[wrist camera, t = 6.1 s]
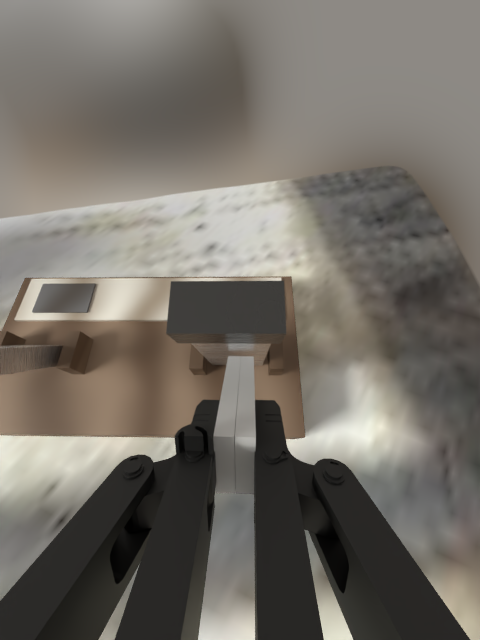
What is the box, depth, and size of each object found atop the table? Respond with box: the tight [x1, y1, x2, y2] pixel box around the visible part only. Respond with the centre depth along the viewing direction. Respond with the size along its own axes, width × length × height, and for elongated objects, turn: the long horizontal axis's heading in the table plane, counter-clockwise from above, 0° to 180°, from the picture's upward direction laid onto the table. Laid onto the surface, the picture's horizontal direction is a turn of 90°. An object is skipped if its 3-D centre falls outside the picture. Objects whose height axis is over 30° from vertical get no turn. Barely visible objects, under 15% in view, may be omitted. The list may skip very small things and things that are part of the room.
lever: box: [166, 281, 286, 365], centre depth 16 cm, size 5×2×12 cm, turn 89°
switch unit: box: [0, 277, 305, 439], centre depth 24 cm, size 26×14×7 cm, turn 89°
